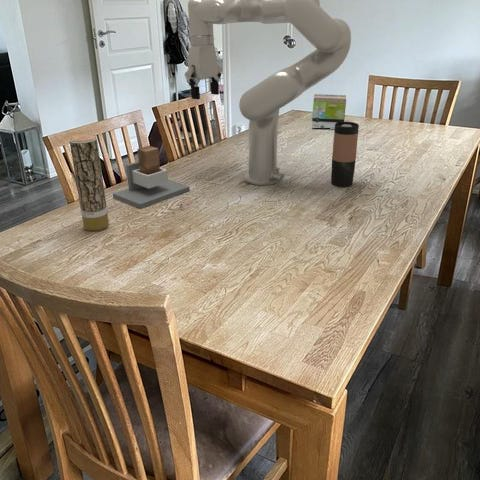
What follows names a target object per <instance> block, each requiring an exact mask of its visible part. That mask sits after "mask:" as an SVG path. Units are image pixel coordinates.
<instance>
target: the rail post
mask: <svg viewBox="0 0 480 480" xmlns="http://www.w3.org/2000/svg"><path fill="white" fill-rule="evenodd" d="M159 153H160V152H159V148H158V147H154V146H152V145H147V146H144V147H143V146H142V147H140V148H139V147H138V148H137V159H138V161H139V169H140V173H143V174H146V175H150V174H153V173H156V172H160V168H161V167H160V155H159Z"/></svg>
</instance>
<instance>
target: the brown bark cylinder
mask: <svg viewBox="0 0 480 480" xmlns="http://www.w3.org/2000/svg"><path fill="white" fill-rule="evenodd" d="M68 140H69V146H70V152H71V153H70V154H71V159H72V164H73V172H74V176H75V183H76V188H77V189H76V190H77V195H78V201H79V206H80V213H81V219H82V225H83V228H84V229H85V230H87V231H89V232H90V231H91V232H99V231H102V230H105V229H107V228H108V227H109V225H110V224H109V216H108V207H107V200H106V194H105V193H106V192H105V187H104V186H105V185H104V179H103V178H104V177H103V172H102V164H101V159H100V150H99V144H98V143H99V142H98V138H97V135H95V134H91V133H90V134H89V133H86V134H76V135H73V136H71V137H69V139H68ZM98 230H99V231H98Z"/></svg>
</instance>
